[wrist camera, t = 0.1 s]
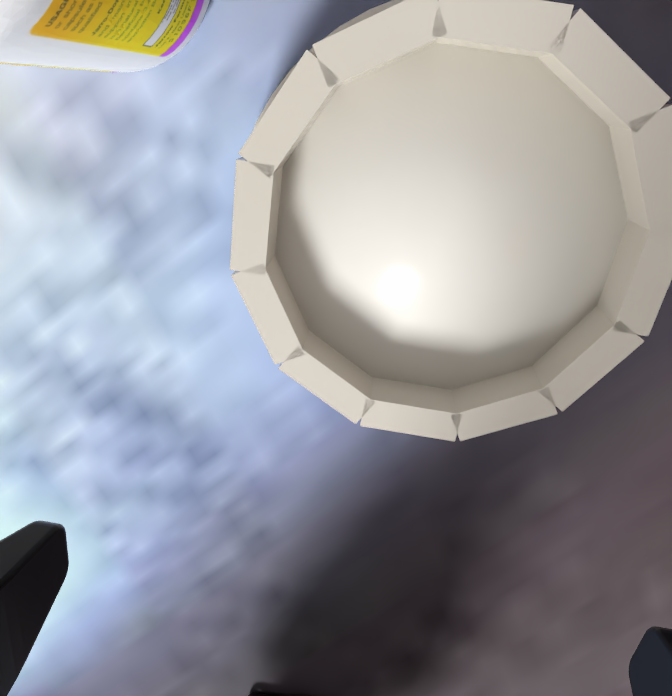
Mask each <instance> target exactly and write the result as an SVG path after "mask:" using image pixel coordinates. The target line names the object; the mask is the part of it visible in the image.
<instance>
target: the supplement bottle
mask: <svg viewBox="0 0 672 696" xmlns="http://www.w3.org/2000/svg"><path fill="white" fill-rule="evenodd" d="M209 1H210V0H0V63H1V64H13V65H28V66H41V67H54V68H66V69H79V70H94V71H105V72H136V71H142V70H146V69H150V68H153V67H155V66H158V65H160V64H162V63H164V62H166V61H167V60H169V59H171V58H172V57H173V56H175V55H176V54H177V53H178V52H179V51H181V50H182V49H183V48H184V47H185V46H186V45H187V43H188V42H189V41H190V40H191V39H192V37H193V36H194V34H195V33H196V31H197V30H198V28H199V26H200V24H201V22H202V20H203V18H204V16H205V13H206V10H207V8H208V5H209Z"/></svg>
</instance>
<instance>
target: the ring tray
mask: <svg viewBox="0 0 672 696" xmlns="http://www.w3.org/2000/svg"><path fill="white" fill-rule="evenodd" d="M573 7H574V5H571V4H564V3H557V2H550V1H544V0H392V1H389V2H387V3H384V4H382V5H379V6H377V7H374V8H372V9H369V10H367V11H365V12H364V13H362V14H360V15H358V16H357V17H355V18H353V19H351V20H350V21H348V22H346V23H344V24H343V25H341V26H339V27H338V28H337V29H335V30H334V31H333V32H331V33H330V34H329V35H327V36H326V37H325V38H324V39H322V40H321V41H319V42H317V43H315V44H312V45H313V47H312V48H311V49H310V50H306V51H305V53H304V54H303V56H302V57H301V59H300V60H299V61H298V62H297V63H296V64H295V65H294V66H293V67H292V69H291V70H290V71H289V72H288V74H287V75H286V76H285V78H284V79H283V80H282V82H281V83H280V84H279V86H278V87H277V88H276V90H275V91H274V92H273V94H272V95H271V97H270V99H269V100H268V102H267V104H266V106H265V107H264V109H263V111H262V113H261V115H260V116H259V118H258V120H257V122H256V124H255V127H254V129H253V132H252V133H251V135H250V136H249V138H248V139H247V141H246V143H245V144H244V146H243V147H242V149H241V150H240V152H239V153H238V154H240V155H241V156H242V157H241V158H239V159H236V174H235V191H234V208H233V226H232V243H231V260H230V270H235V271H234V273H233V274H232V275H231V276H232V278H233V280H234V282H235V284H236V286H237V288H238V290H239V292H240V294H241V296H242V299H243V301H244V303H245V305H246V307H247V309H248V311H249V313H250V315H251V317H252V319H253V321H254V323H255V325H256V327H257V329H258V331H259V333H260V335H261V337H262V339H263V341H264V343H265V345H266V347H267V349H268V351H269V354H270V356H271V358H272V360H273V362H274V364H278V363H280V366H279V368H278V369H280V370H281V371H282V372H284V373H285V374H287V375H288V376H289V377H291V378H292V379H293V380H295V381H296V382H298V383H299V384H300V385H302V386H303V387H305V388H306V389H307V390H309V391H310V392H312V393H313V394H314V395H316V396H317V397H319V398H320V399H321V400H323V401H324V402H326V403H327V404H328V405H330V406H331V407H332V408H334V409H335V410H337V411H338V412H339V413H341V414H342V415H344V416H345V417H346V418H348V419H349V420H351V421H352V422H353V423H355V424H356V423H357V422H358V421H359V420H360V419H361V423H360V426H364V427H370V428H376V429H382V430H388V431H394V432H400V433H406V434H412V435H418V436H424V437H430V438H436V439H442V440H448V441H454V442H455V439H456V436H457V434H458V437H459V439H460V441H463V440H467V439H470V438H474V437H477V436H481V435H485V434H488V433H492V432H495V431H499V430H503V429H506V428H510V427H513V426H517V425H521V424H524V423H528V422H531V421H535V420H538V419H542V418H546V417H549V416H553V415H556V414H557V411H556V407H557V408H559V409H560V410H561V411H562V412H563V411H564V410H565V409H566V408H567V407H568V406H570V405H571V404H572V403H573V402H574V401H575V400H577V399H578V398H579V397H580V396H581V395H582V394H584V393H585V392H586V391H587V390H588V389H589V388H591V387H592V386H593V385H594V384H595V383H596V382H598V381H599V380H600V379H601V378H602V377H604V376H605V375H606V374H607V373H608V372H609V371H611V370H612V369H613V368H614V367H615V366H616V365H618V364H619V363H620V362H621V361H622V360H623V359H625V358H626V357H627V356H628V355H629V354H630V353H632V352H633V351H634V350H635V349H636V348H637V347H639V346H640V345H641V344H642V343H643V342H644V340H643V339H642V338H641V337H640V336H639V335H642V336H649V333H650V331H651V328H652V326H653V324H654V321H655V319H656V316H657V314H658V311H659V309H660V307H661V304H662V302H663V299H664V297H665V294H666V292H667V290H668V287H669V285H670V282H671V280H672V104H665V103H666V102H667V101H668V100H669V99H670V97H669V96H668V95H667V94H666V93H665V92H664V91H663V90H662V89H661V88H660V87H659V86H658V85H657V84H656V83H655V82H654V81H653V80H652V79H651V78H650V77H649V76H648V75H647V74H646V73H645V72H644V71H643V70H642V69H641V68H640V67H639V66H638V65H637V64H636V63H635V62H634V61H633V60H632V59H631V58H630V57H629V56H628V55H627V54H626V53H625V52H624V51H623V50H622V49H621V48H620V47H619V46H618V45H617V44H616V43H615V42H614V41H613V40H612V39H611V38H610V37H609V36H608V35H607V34H606V33H605V32H604V31H603V30H602V29H601V28H600V27H599V26H598V25H597V24H596V23H595V22H594V21H593V20H592V19H591V18H590V17H589V16H588V15H587V14H586V13H585V12H584V11H583V10H582V9H581V8H580V9H578V10H575V11H573V12H572V10H573ZM555 406H556V407H555Z"/></svg>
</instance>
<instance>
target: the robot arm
mask: <svg viewBox="0 0 672 696" xmlns="http://www.w3.org/2000/svg"><path fill="white" fill-rule="evenodd" d="M68 564H69V561H68V551H67V541H66V532H65V528H64V527H63V526H62V525H61V524H57V523H51V522H46V521H35V522H32V523H30V524H29V525H27V526H25V527H23V528H22V529H20V530H18V531H16V532H15V533H13V534H11V535H9V536H8V537H6V538H4V539H2V540H1V541H0V696H7V695H8V693H9V691H10V689H11V688H12V686H13V684H14V682H15V681H16V679H17V677H18V675H19V673H20V671H21V669H22V667H23V665H24V663H25V661H26V659H27V657H28V655H29V653H30V651H31V649H32V647H33V645H34V642H35V640H36V638H37V636H38V634H39V632H40V630H41V628H42V626H43V624H44V622H45V619H46V617H47V615H48V613H49V611H50V609H51V607H52V605H53V603H54V601H55V599H56V596H57V594H58V592H59V590H60V588H61V586H62V584H63V582H64V580H65V577H66V574H67V571H68ZM629 678H630V683H631V688H632V693H633V696H672V629H667V628H661V627H651V628H649V629H648V630H647V631H646V633H645V634H644V636H643V638H642V640H641V642H640V644H639V645H638V647H637V649H636V651H635V653H634V654H633V656H632V658H631V661H630V664H629ZM248 696H271V695H265V694H260V693H251V694H249V695H248Z"/></svg>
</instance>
